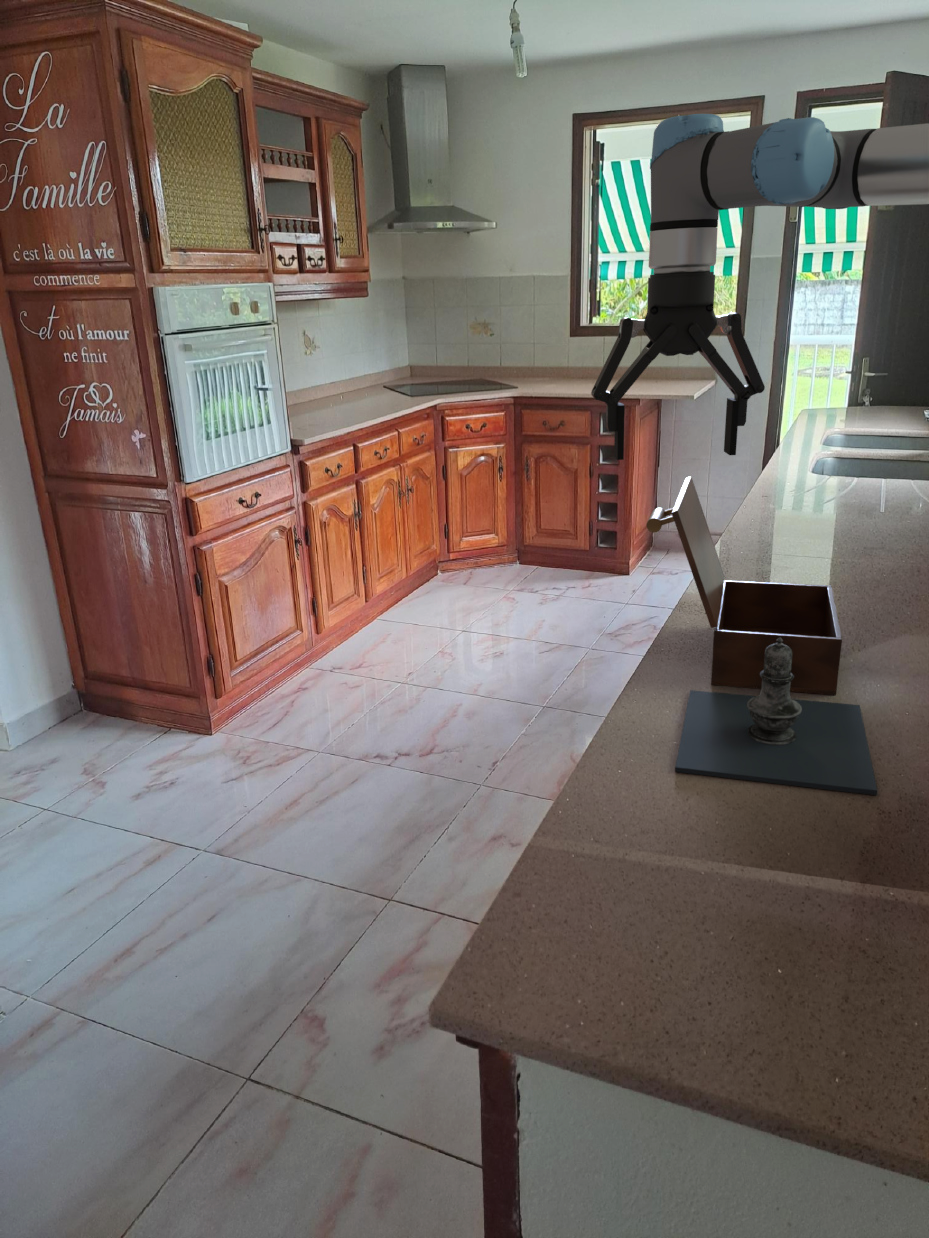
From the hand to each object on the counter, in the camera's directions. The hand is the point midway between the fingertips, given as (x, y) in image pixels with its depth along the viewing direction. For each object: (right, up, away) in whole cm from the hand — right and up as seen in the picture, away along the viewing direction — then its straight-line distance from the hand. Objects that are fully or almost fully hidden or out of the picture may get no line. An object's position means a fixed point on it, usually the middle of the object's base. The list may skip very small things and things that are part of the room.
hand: (674, 456), depth 108 cm
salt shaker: (+9, -34, -8) cm, 36 cm away
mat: (+10, -34, -7) cm, 36 cm away
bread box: (+17, -26, +14) cm, 34 cm away
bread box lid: (+7, -10, +11) cm, 17 cm away
